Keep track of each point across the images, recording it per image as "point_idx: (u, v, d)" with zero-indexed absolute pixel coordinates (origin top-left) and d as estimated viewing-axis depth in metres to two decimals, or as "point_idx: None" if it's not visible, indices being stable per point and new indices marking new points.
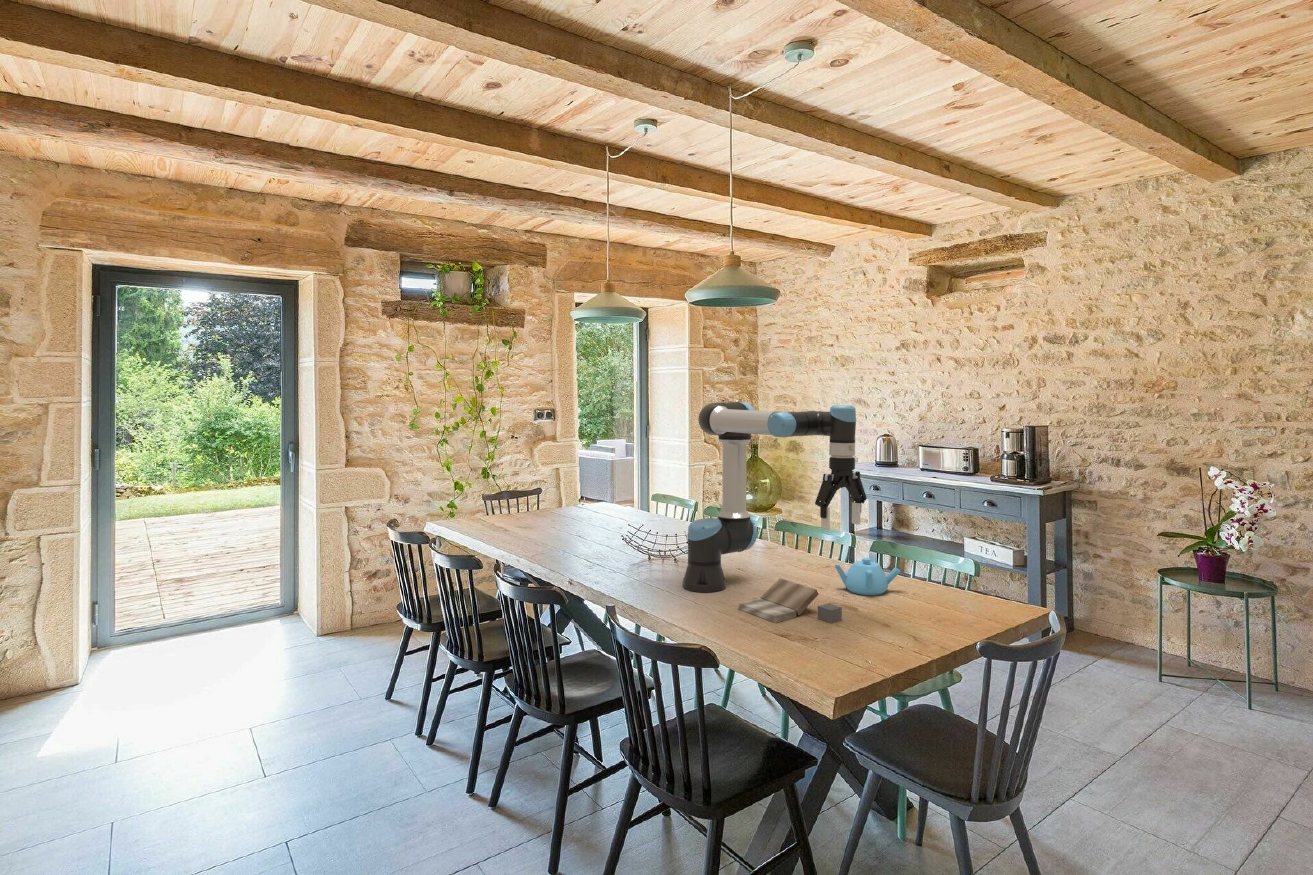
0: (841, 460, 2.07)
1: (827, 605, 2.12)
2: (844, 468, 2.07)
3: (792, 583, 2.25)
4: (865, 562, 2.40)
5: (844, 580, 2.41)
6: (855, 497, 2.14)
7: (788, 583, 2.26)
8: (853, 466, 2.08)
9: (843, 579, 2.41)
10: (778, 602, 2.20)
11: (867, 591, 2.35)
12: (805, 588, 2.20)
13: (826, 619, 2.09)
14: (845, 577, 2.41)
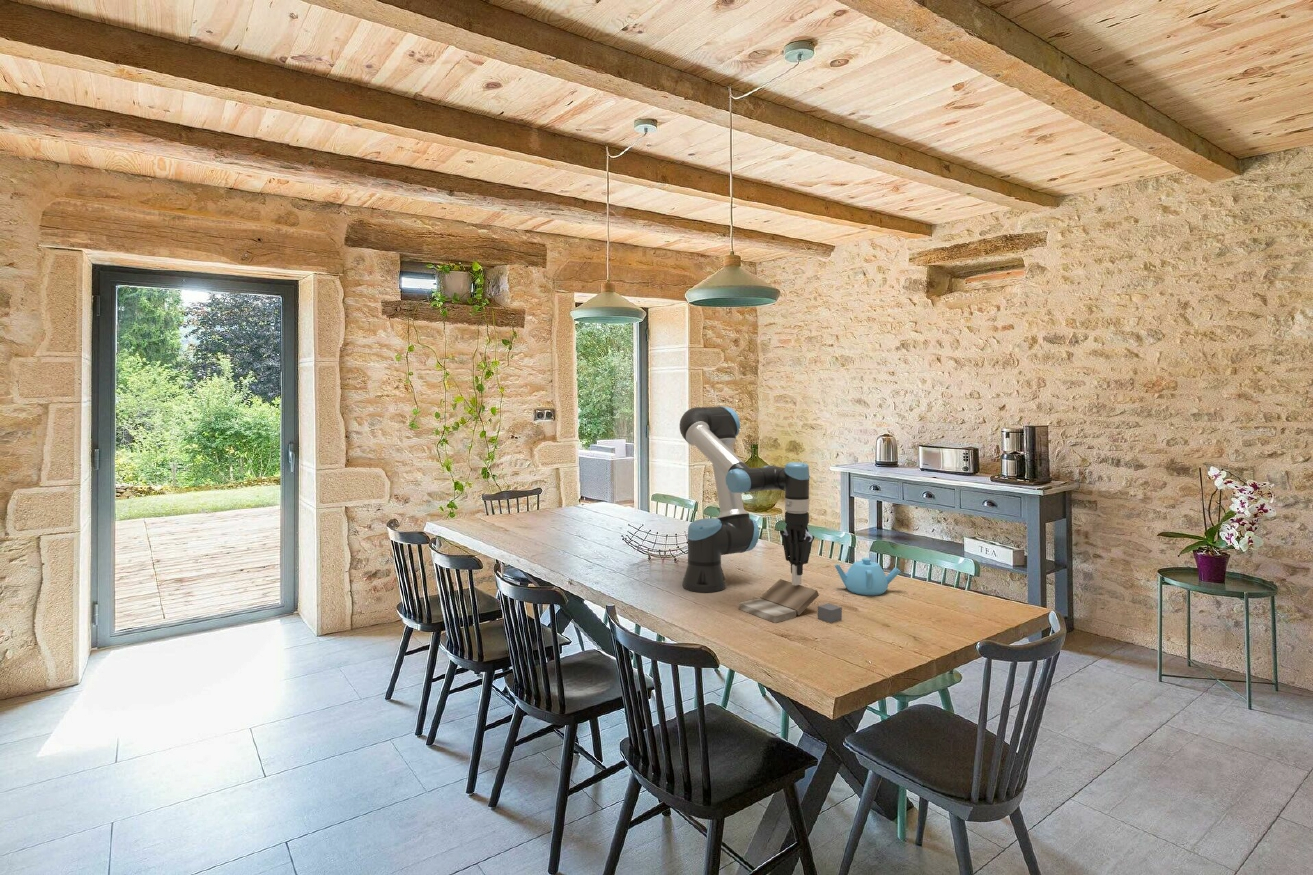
0: (785, 513, 2.23)
1: (827, 605, 2.12)
2: (785, 521, 2.22)
3: None
4: (865, 562, 2.40)
5: (844, 580, 2.41)
6: None
7: (788, 584, 2.26)
8: (790, 521, 2.19)
9: (843, 579, 2.41)
10: (778, 602, 2.20)
11: (866, 591, 2.35)
12: (805, 589, 2.20)
13: (826, 619, 2.09)
14: (845, 577, 2.41)
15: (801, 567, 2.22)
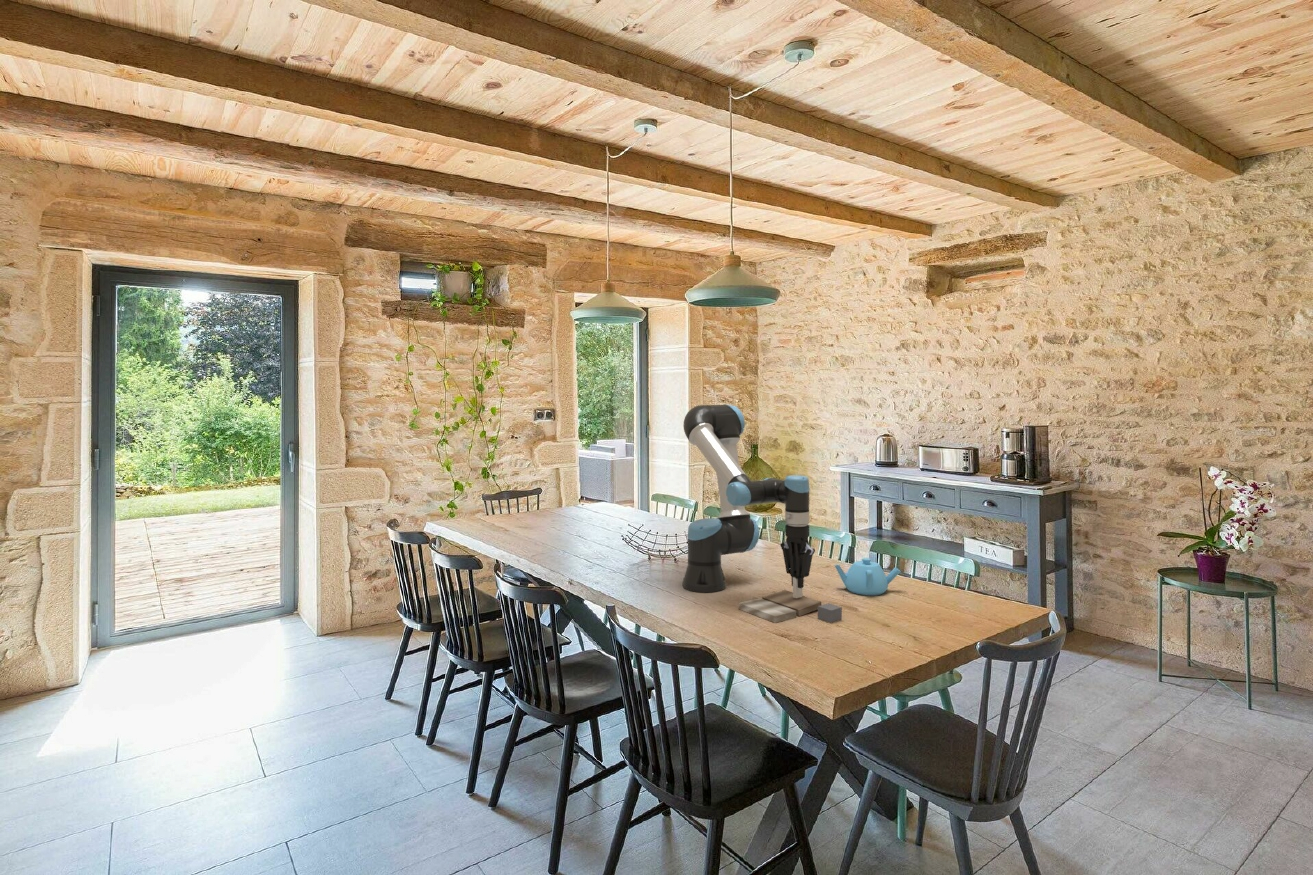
0: (785, 526, 2.23)
1: (827, 605, 2.12)
2: (785, 534, 2.23)
3: None
4: (865, 562, 2.40)
5: (844, 580, 2.41)
6: None
7: (792, 594, 2.27)
8: (791, 534, 2.20)
9: (843, 579, 2.41)
10: (780, 602, 2.20)
11: (866, 591, 2.35)
12: (809, 599, 2.22)
13: (826, 619, 2.09)
14: (845, 577, 2.41)
15: (802, 580, 2.22)
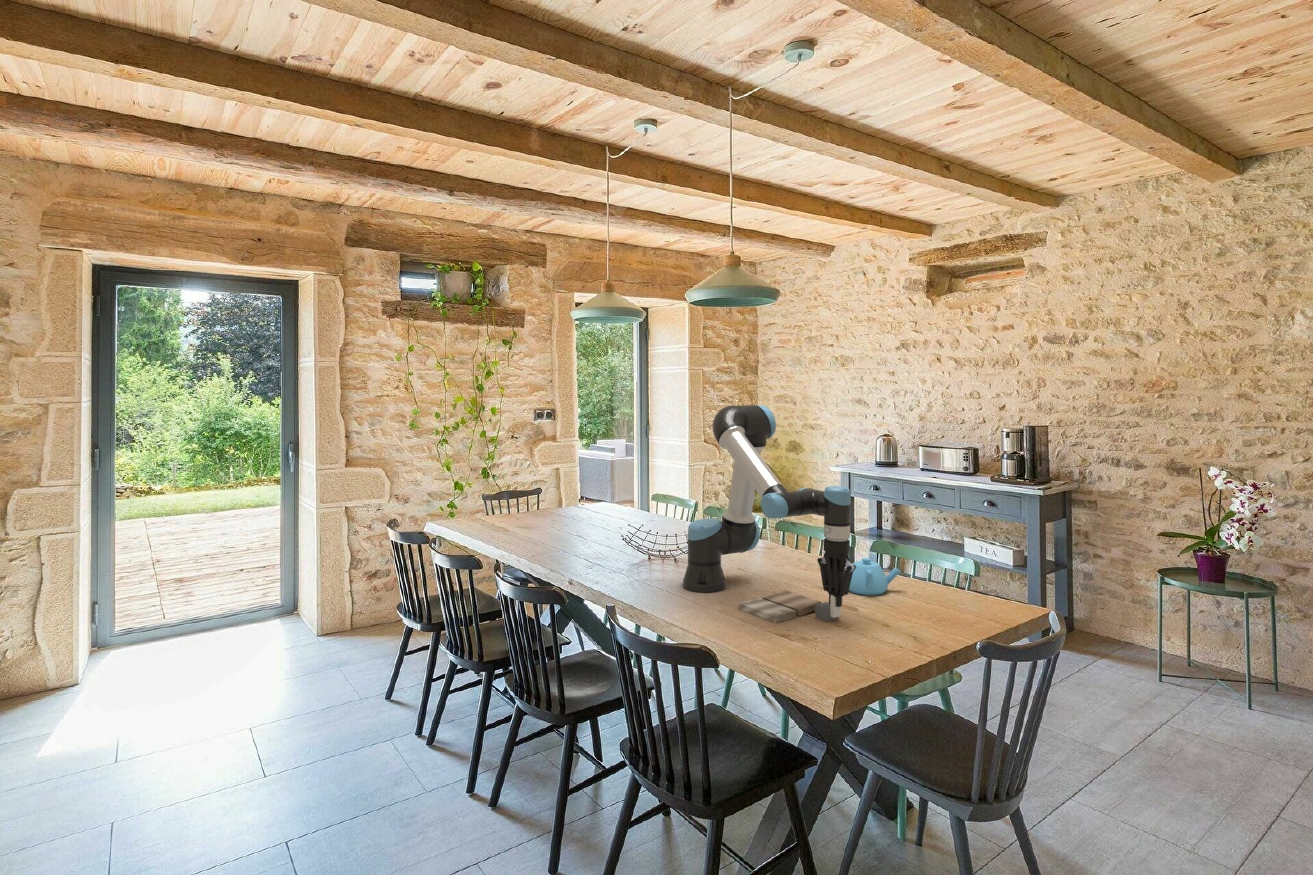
0: (824, 540, 2.09)
1: (824, 604, 2.13)
2: None
3: (797, 594, 2.27)
4: (865, 562, 2.40)
5: None
6: None
7: (792, 594, 2.27)
8: (830, 549, 2.05)
9: None
10: (780, 602, 2.20)
11: (866, 591, 2.35)
12: (809, 599, 2.22)
13: (824, 617, 2.10)
14: None
15: (840, 598, 2.07)
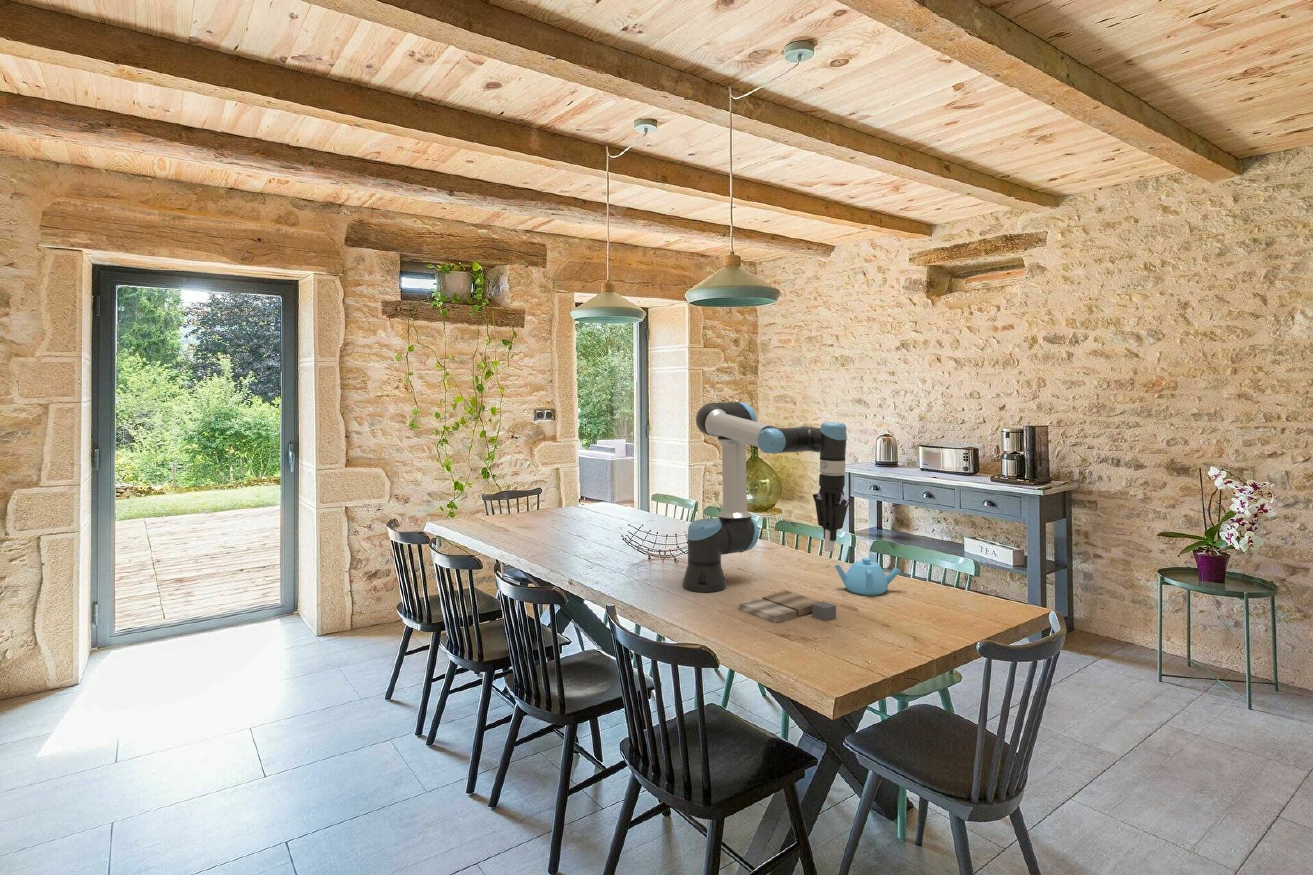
0: None
1: (821, 603, 2.14)
2: (819, 484, 2.11)
3: (797, 594, 2.27)
4: (865, 562, 2.40)
5: (844, 580, 2.41)
6: None
7: (792, 594, 2.27)
8: (825, 484, 2.08)
9: (843, 579, 2.41)
10: (780, 602, 2.20)
11: (866, 591, 2.35)
12: (809, 599, 2.22)
13: (821, 617, 2.11)
14: (845, 577, 2.41)
15: (835, 532, 2.10)
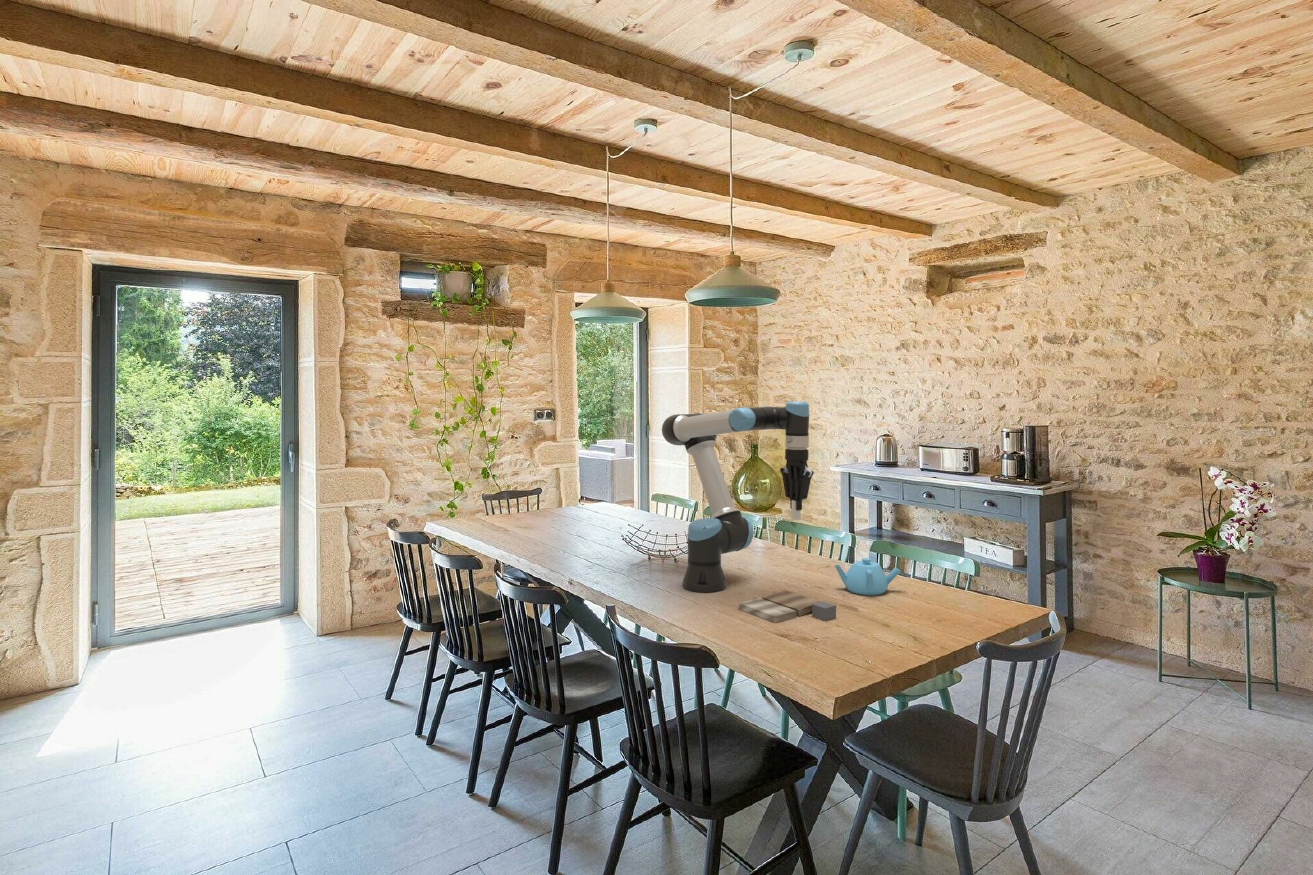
0: None
1: (821, 603, 2.14)
2: (785, 458, 2.29)
3: (797, 594, 2.27)
4: (865, 562, 2.40)
5: (844, 580, 2.41)
6: None
7: (792, 594, 2.27)
8: (791, 457, 2.26)
9: (843, 579, 2.41)
10: (780, 602, 2.20)
11: (866, 591, 2.35)
12: (809, 599, 2.22)
13: (821, 617, 2.11)
14: (845, 577, 2.41)
15: (800, 502, 2.29)
